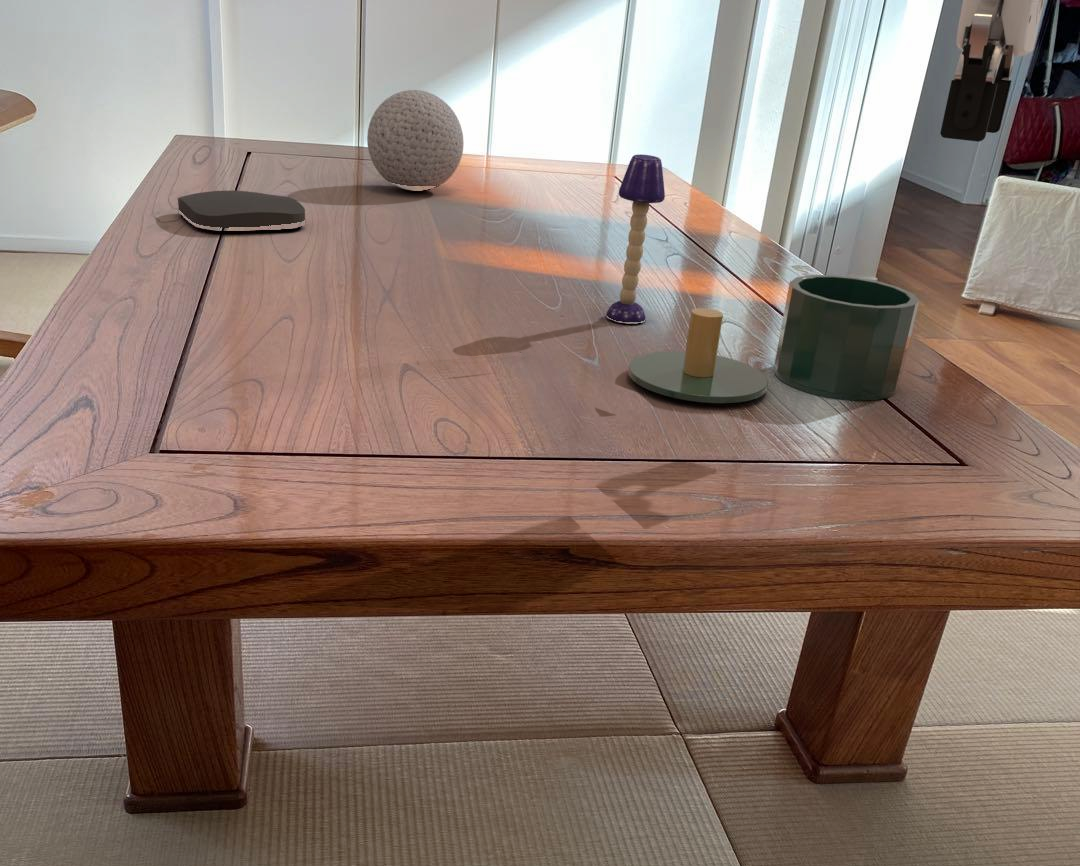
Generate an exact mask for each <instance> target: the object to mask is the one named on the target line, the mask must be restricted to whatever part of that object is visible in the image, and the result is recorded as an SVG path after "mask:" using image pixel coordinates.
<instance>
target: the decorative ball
mask: <svg viewBox="0 0 1080 866" xmlns="http://www.w3.org/2000/svg"><path fill="white" fill-rule="evenodd" d="M366 138H367V139H366V140H367V149H368V154H369V157H370V160H371V161H372V164H373V166H374V168H375V169H376V171H377V172H378V173H379V175H380V176H381V177H382V178H383V179H384V180H385V181H387V183H389V182H391V183H395V184H400V185H407V186H437V185H440V186H442V185H443V184H445V183H446V182H447V181H448V180H450V178H451V177H452V176H453V175H454V173H456V171H457V169H458V167H459V165H460V163H461V160H462V157H463V152H464V143H465V142H464V133H463V129H462V126H461V123H460V121H459V118H458V116H457V115H456V112H455V111H454V109H452V108H451V106H450V105H449V104H448V103H447V102H446V101H445V100H443V99H442V98H440V97H439V96H437V95H436V94H433V93H431V92H428V91H425V90H420V89H405V90H401V91H399V92H396V93H394V94H392V95H390V96H389V97H387V98H386V99H384V100H383V101H382V102H381V103H380V104H379V106H378V107H377V108H376V109H375V111H374V113H373V114H372V116H371V118H370V121H369V124H368V127H367V135H366ZM391 183H390V184H391ZM441 184H442V185H441Z"/></svg>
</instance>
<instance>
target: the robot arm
mask: <svg viewBox="0 0 1080 866" xmlns="http://www.w3.org/2000/svg"><path fill="white" fill-rule="evenodd" d="M1044 3H1045V0H962V3H961V4H962V5H961V9H960V15H959V21H958V26H957V34H956V41H955V42H956V46H957V48H958V49H959V50H960V54H959V57H958V61H957V64H956V66H955V71H954V74H953V75H954V76H953V79H951V81H950V87H949V90H948V95H947V100H946V105H945V110H944V114H943V118H942V122H941V128H940V134H939V135H940V136H941V137H942V138H943V139H950V140H951V139H952V140H958V141H959V140H961V141H970V142H978V143H979V142H983V141H984V140H985V139H986V136H987V133H989V134H997V133H998V132H999V131H1000V129H1001V127H1002V122H1003V118H1004V114H1005V110H1006V106H1007V102H1008V98H1009V94H1010V90H1011V85H1012V79H1011V76H1012V72H1013V69H1014V68H1013V67H1014V62H1015V57H1026V56H1028V55H1029V54H1031V53H1032V52H1033V51H1034V49H1035V46H1036V40H1037V35H1038V30H1039V27H1040V22H1041V16H1042V13H1043V8H1044Z"/></svg>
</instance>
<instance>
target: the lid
mask: <svg viewBox="0 0 1080 866" xmlns="http://www.w3.org/2000/svg"><path fill="white" fill-rule="evenodd" d="M723 318H724V313H723V312H721V311H720V310H717V309H712V308H705V307H697V308H693V309H691V311H690V319H689V324H688V331H687V339H686V345H685V351H684V350H667V351H666V350H665V351H654V352H649V353H644V354H641V355H638V356H637V357H634V358H633V359H631V361H630V362H629V364H628V371H627V372H628V376H629V377H630V379H631V380H632V381H633V382H634V383H635V384H637V385H638V386H640V387H642V388H644V389H646V390H648V391H651V392H653V393H656V394H658V395H662V396H666V397H670V398H673V399H678V400H682V401H690V402H696V403H706V404H735V403H744V402H748V401H754V400H755V399H758V398H760V397H762V396H763V395H765V394H766V392H768V391H767V389H768V386H769V379H768V378H767V376H766V375H765V374H764V373H763V372H762V371H761V370H759V369H757V368H756V367H754V366H752V365H750V364H748V363H745V362H742V361H739V360H737V359H733V358H730V357H725V356H721V355H718V352H719V344H720V337H721V331H722V325H723V320H724V319H723Z"/></svg>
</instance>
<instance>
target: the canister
mask: <svg viewBox="0 0 1080 866" xmlns="http://www.w3.org/2000/svg"><path fill="white" fill-rule="evenodd" d="M919 303H920V299H919V298H918V297H917V295H916V294H914V292H911V291H909V290H906V289H904V288H902V287H900V286H898V285H897V286H896V285H894V284H893V285H892V284H889V283H887V282H882V281H878V280H872V279H867V278H861V277H856V276H846V275H835V274H809V275H803V276H802V275H801V276H797V277H795V278H793V279H792V280H791V281H789V282H788V289H787V293H786V299H785V304H784V311H783V315H782V321H781V326H780V333H779V337H778V343H777V348H776V349H777V350H776V354H775V359H774V370H773V371H774V375H775V374H776V375H775V376H776V377H777V379H778V380H780V381H781V382H782V383H784V384H786V385H787V386H790V387H792V388H795V389H797V390H799V391H802V392H805V393H809V394H812V395H816V396H820V397H824V398H831V399H837V400H845V401H861V402H864V401H865V402H866V401H877V400H884V399H888V398H890V397H892V396H894V395H895V394H896V393H897V392H898V388H899V385H900V383H901V379H902V375H903V371H904V367H905V363H906V358H907V355H908V350H909V346H910V342H911V338H912V334H913V329H914V325H915V321H916V316H917V312H918V308H919Z"/></svg>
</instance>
